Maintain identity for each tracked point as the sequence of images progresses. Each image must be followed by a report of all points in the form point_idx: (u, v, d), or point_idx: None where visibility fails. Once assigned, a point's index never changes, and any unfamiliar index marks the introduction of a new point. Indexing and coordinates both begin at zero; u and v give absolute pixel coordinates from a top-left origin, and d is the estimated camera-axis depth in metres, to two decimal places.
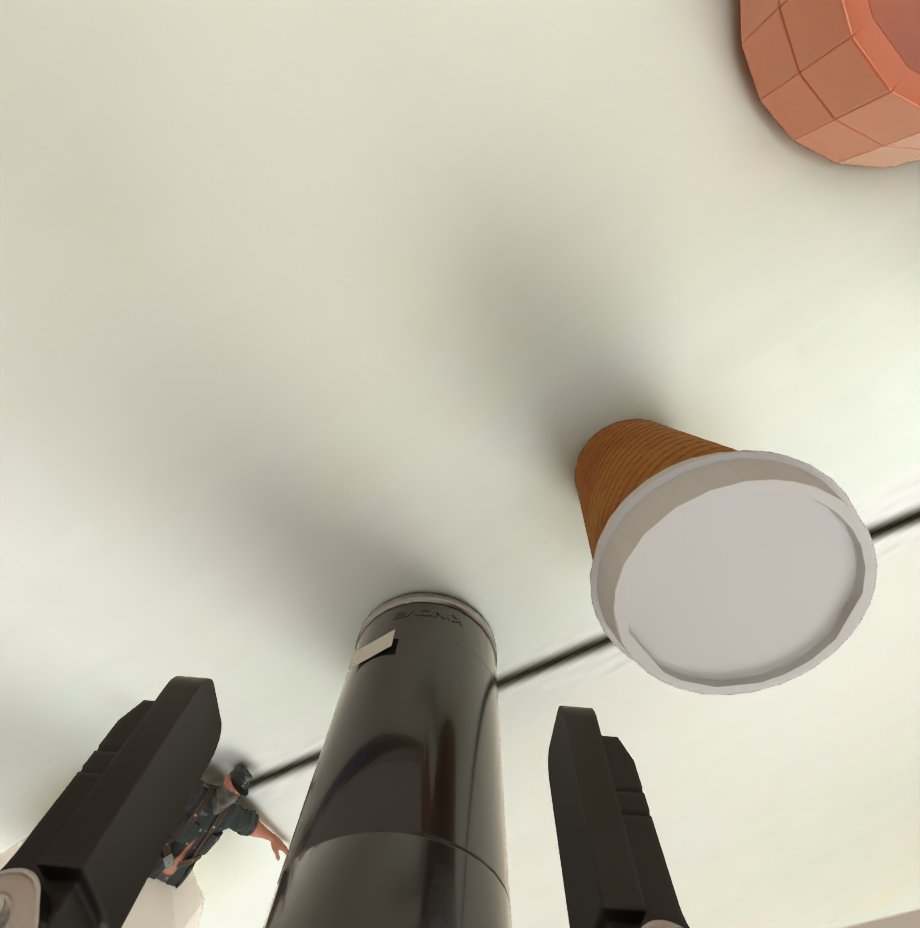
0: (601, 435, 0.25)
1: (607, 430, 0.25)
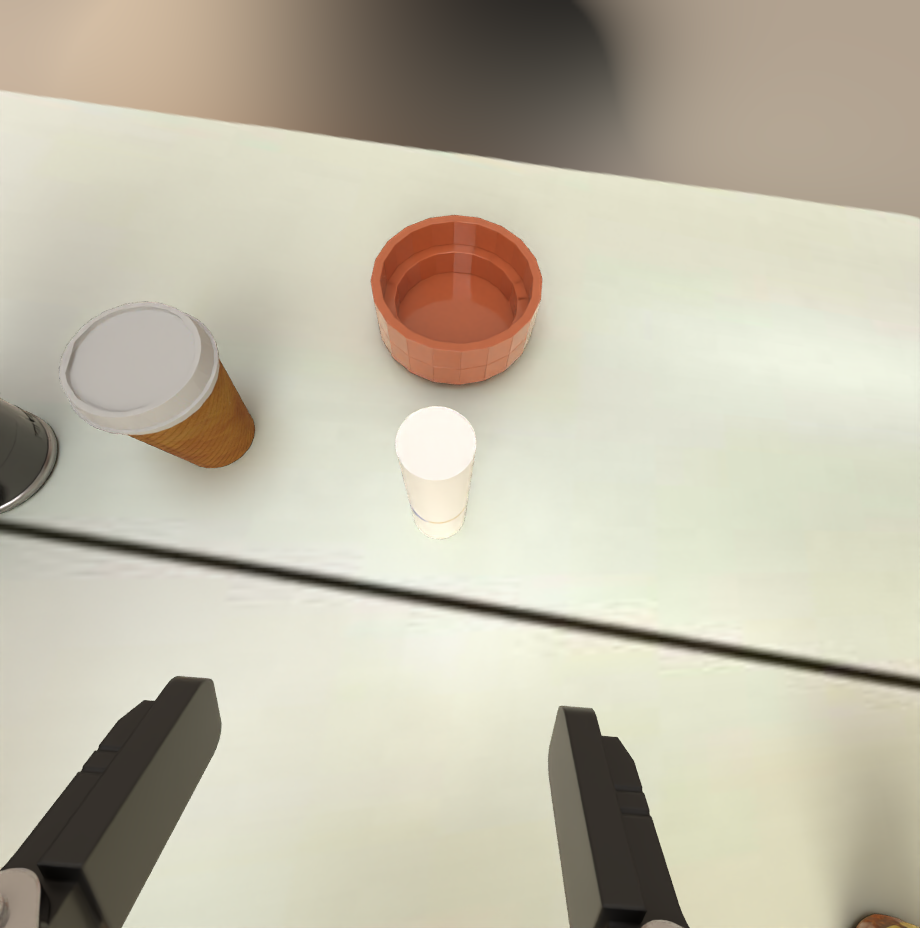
0: None
1: None
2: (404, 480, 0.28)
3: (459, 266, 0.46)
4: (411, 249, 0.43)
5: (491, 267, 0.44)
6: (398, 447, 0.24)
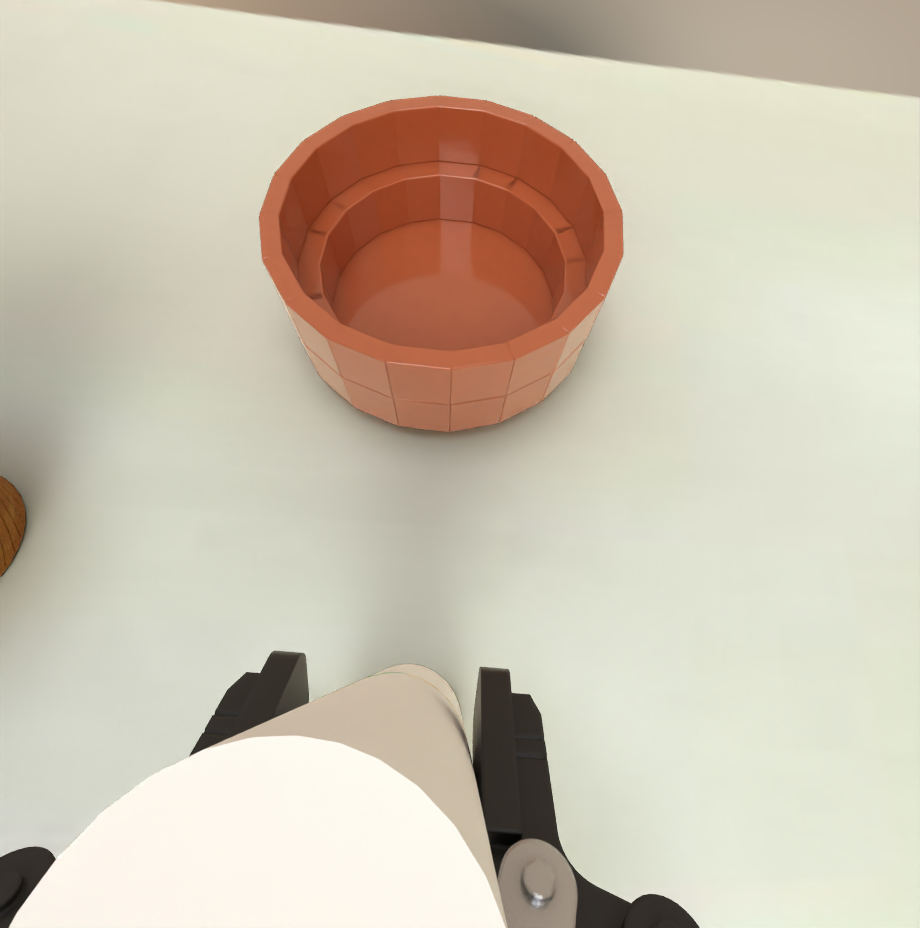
0: None
1: None
2: None
3: (451, 206, 0.25)
4: (356, 166, 0.22)
5: (511, 205, 0.23)
6: None
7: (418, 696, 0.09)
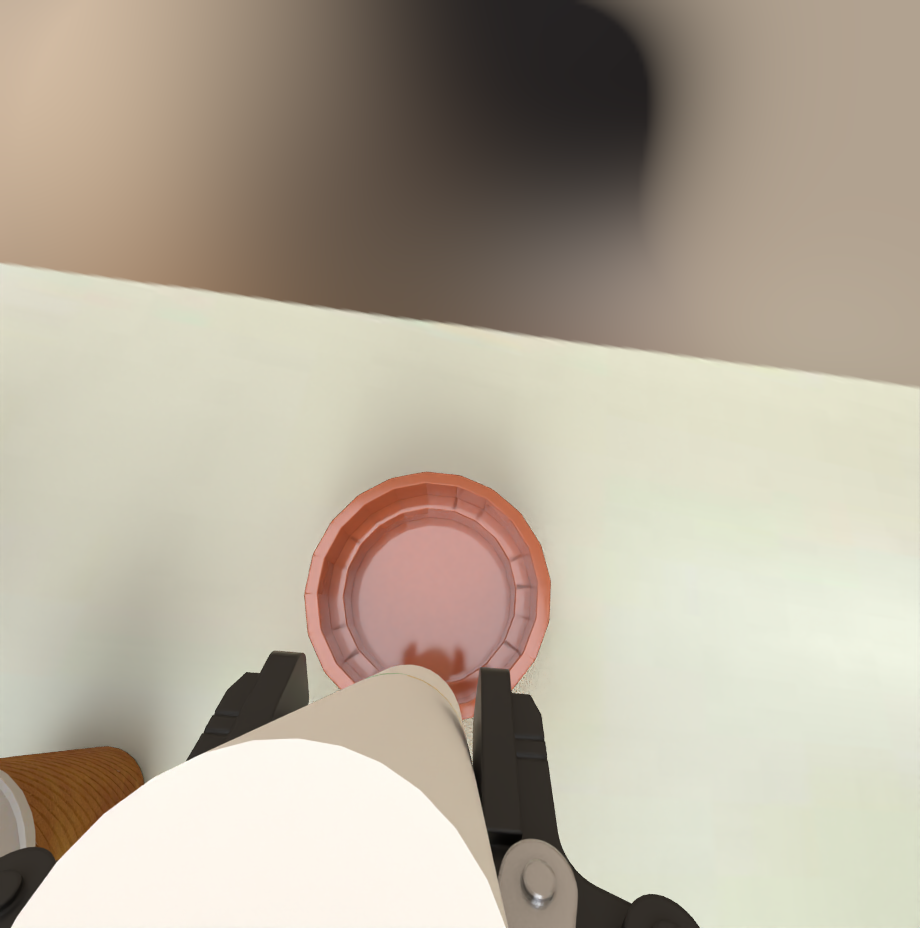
0: None
1: (100, 747, 0.29)
2: None
3: (437, 515, 0.34)
4: (368, 513, 0.31)
5: (479, 527, 0.32)
6: None
7: (418, 697, 0.09)
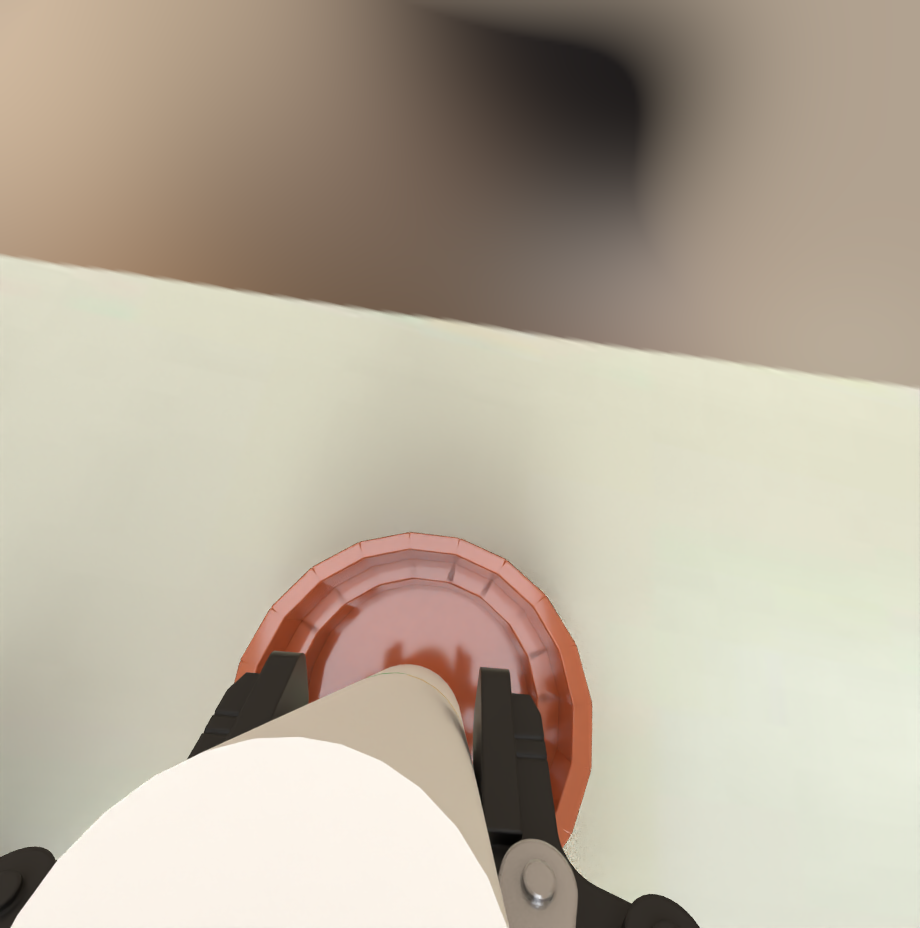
0: None
1: None
2: None
3: (427, 583, 0.25)
4: (328, 589, 0.22)
5: (485, 604, 0.23)
6: None
7: (418, 697, 0.09)
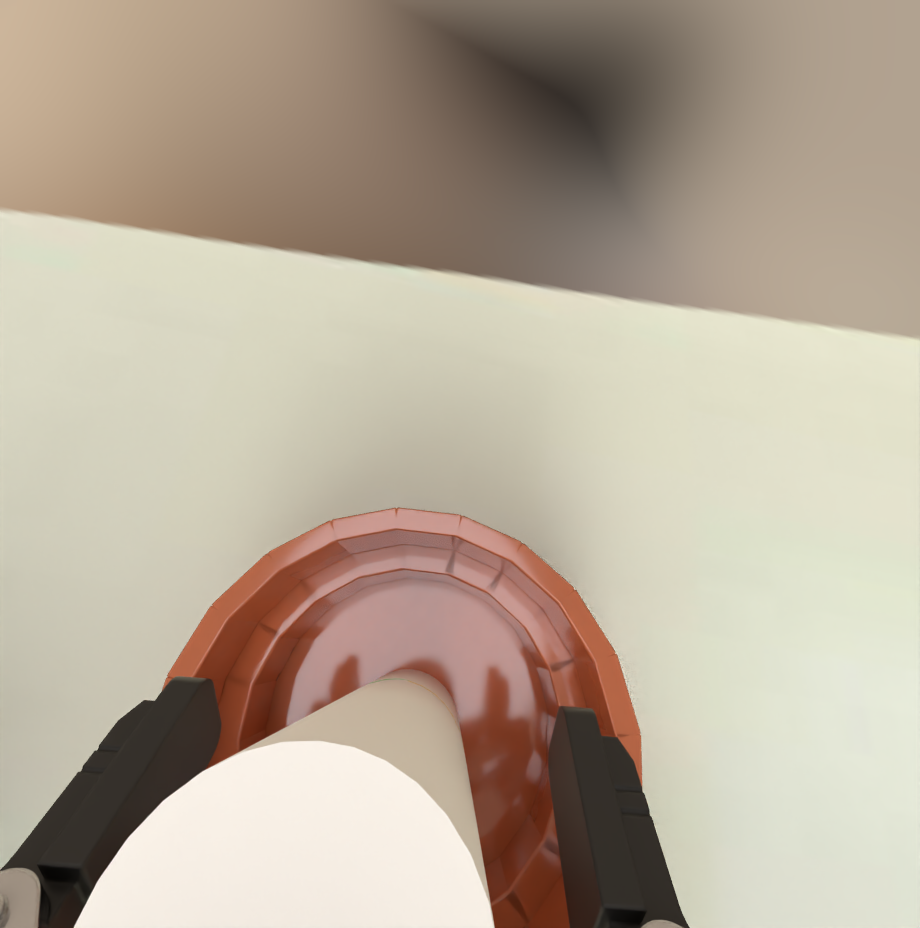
0: None
1: None
2: None
3: (420, 577, 0.20)
4: (292, 582, 0.17)
5: (494, 602, 0.18)
6: None
7: (417, 703, 0.10)
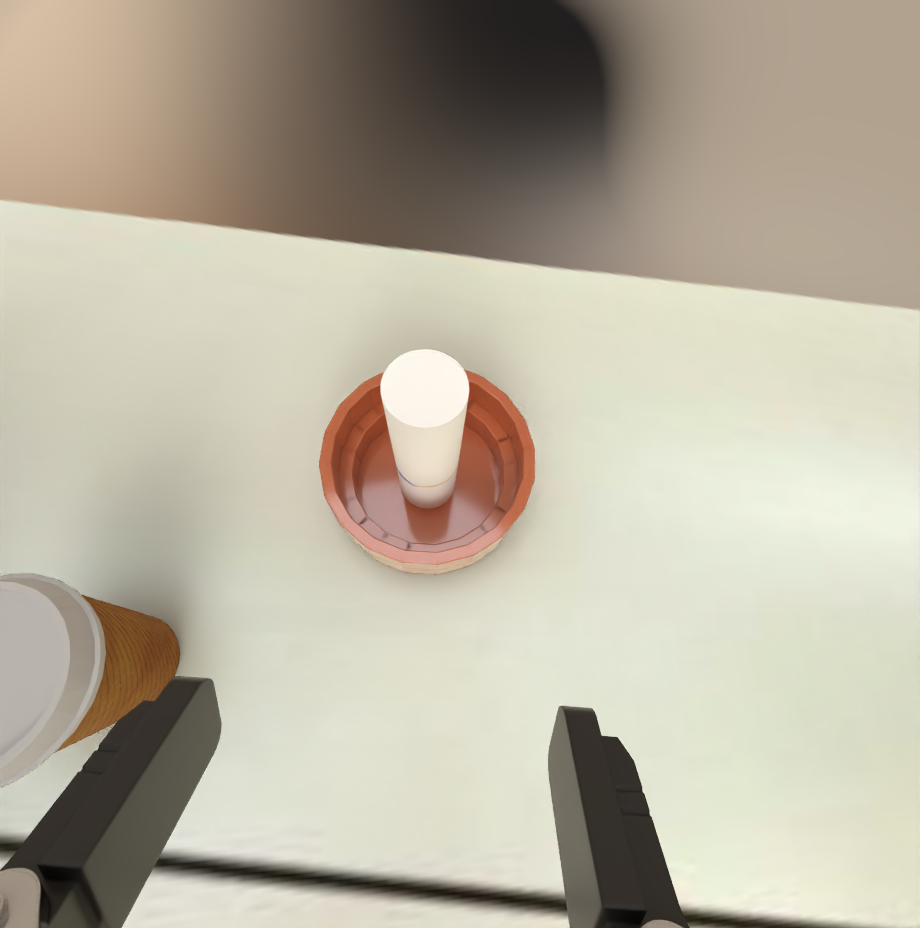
0: None
1: None
2: (391, 435, 0.25)
3: None
4: (370, 404, 0.35)
5: (470, 416, 0.36)
6: (384, 393, 0.22)
7: None
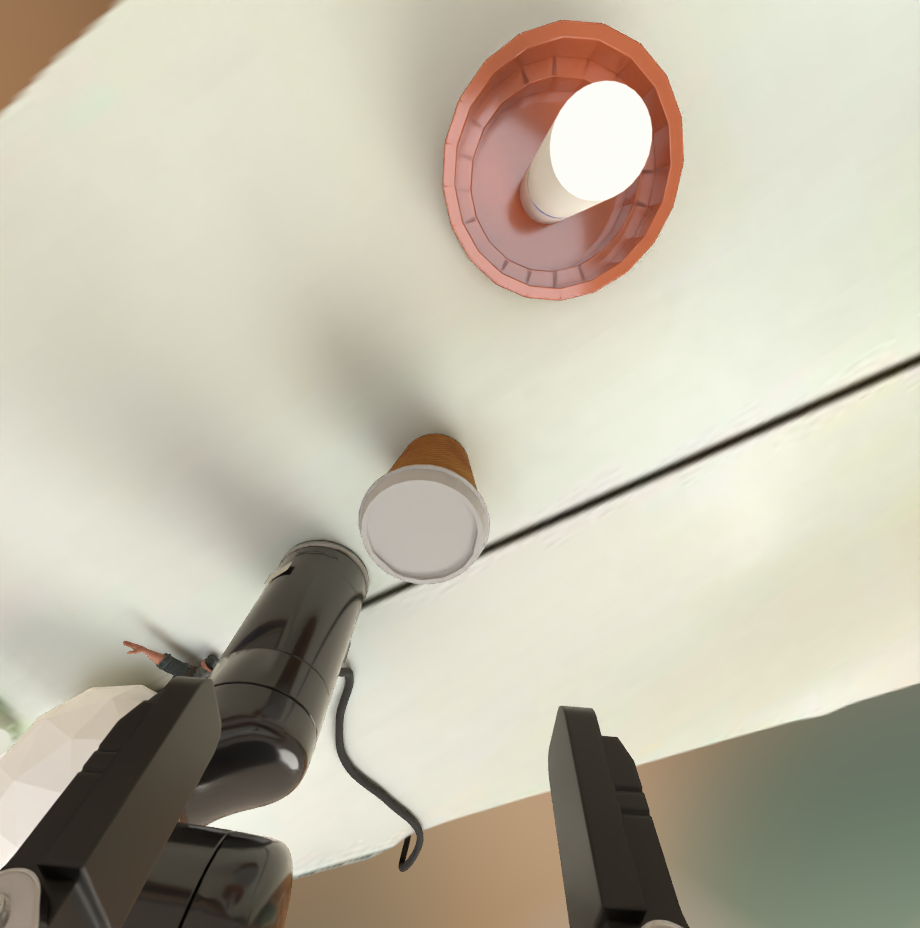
0: (410, 444, 0.41)
1: (414, 441, 0.42)
2: (560, 204, 0.24)
3: (509, 105, 0.31)
4: (458, 155, 0.30)
5: (559, 80, 0.29)
6: (565, 183, 0.20)
7: None
